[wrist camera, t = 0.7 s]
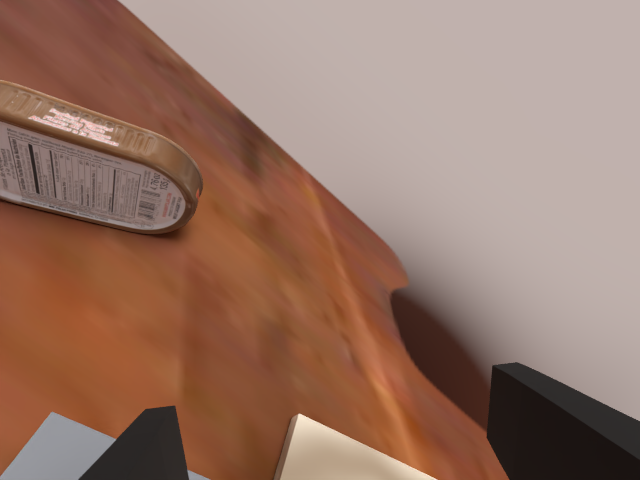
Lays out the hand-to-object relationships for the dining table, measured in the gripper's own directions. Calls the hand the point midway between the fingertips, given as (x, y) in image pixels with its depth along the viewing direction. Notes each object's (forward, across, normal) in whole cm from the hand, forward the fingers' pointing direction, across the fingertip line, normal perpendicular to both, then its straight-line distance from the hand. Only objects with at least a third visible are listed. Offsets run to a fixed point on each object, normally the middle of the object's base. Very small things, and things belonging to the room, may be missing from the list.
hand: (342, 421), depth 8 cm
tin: (+21, +16, -2) cm, 27 cm away
